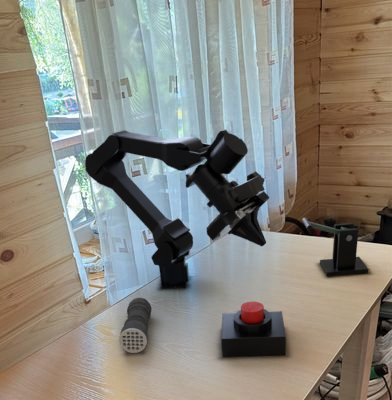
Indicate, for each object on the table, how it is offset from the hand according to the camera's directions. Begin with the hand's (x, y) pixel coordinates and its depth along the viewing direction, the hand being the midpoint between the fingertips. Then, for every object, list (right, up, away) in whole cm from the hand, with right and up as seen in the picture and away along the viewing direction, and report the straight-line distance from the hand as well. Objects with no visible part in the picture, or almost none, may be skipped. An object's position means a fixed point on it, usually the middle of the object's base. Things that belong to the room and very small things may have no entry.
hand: (264, 244), depth 110 cm
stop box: (-3, -21, -7) cm, 23 cm away
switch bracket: (+22, -2, +19) cm, 29 cm away
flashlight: (-27, -19, -1) cm, 33 cm away
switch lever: (+17, +5, +14) cm, 22 cm away
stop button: (-4, -16, -10) cm, 20 cm away
